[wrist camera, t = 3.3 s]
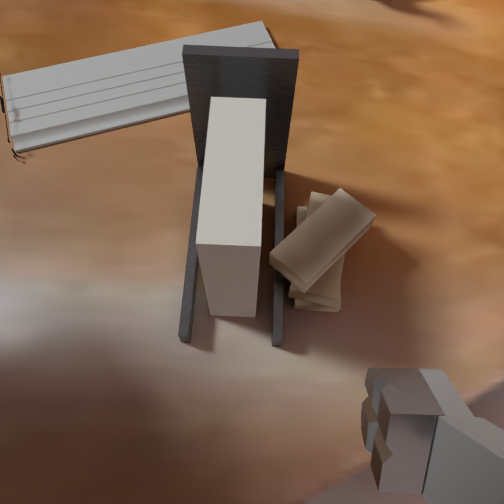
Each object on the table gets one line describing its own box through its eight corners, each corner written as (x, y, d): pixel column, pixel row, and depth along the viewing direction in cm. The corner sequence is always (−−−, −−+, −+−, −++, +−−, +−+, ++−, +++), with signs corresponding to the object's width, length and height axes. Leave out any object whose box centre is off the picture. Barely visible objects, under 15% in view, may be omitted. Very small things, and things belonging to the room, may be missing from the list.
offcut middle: (287, 296, 40) (290, 288, 38) (308, 203, 44) (311, 191, 42) (333, 307, 39) (337, 299, 38) (349, 211, 44) (354, 200, 42)
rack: (181, 342, 39) (148, 272, 26) (200, 166, 47) (183, 44, 34) (281, 346, 39) (300, 279, 26) (283, 170, 47) (298, 49, 34)
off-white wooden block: (210, 315, 40) (195, 243, 28) (219, 200, 46) (210, 96, 33) (255, 317, 40) (261, 246, 28) (259, 202, 46) (265, 98, 33)
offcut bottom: (292, 311, 41) (295, 304, 40) (295, 216, 46) (297, 206, 44) (337, 314, 41) (341, 307, 40) (335, 219, 46) (338, 208, 44)
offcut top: (268, 263, 39) (269, 252, 37) (336, 200, 42) (339, 187, 40) (304, 293, 38) (306, 283, 36) (370, 227, 41) (376, 214, 39)
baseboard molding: (295, 99, 53) (261, 31, 58) (298, 79, 50) (262, 10, 55) (19, 167, 48) (8, 87, 53) (6, 149, 45) (-5, 66, 50)
